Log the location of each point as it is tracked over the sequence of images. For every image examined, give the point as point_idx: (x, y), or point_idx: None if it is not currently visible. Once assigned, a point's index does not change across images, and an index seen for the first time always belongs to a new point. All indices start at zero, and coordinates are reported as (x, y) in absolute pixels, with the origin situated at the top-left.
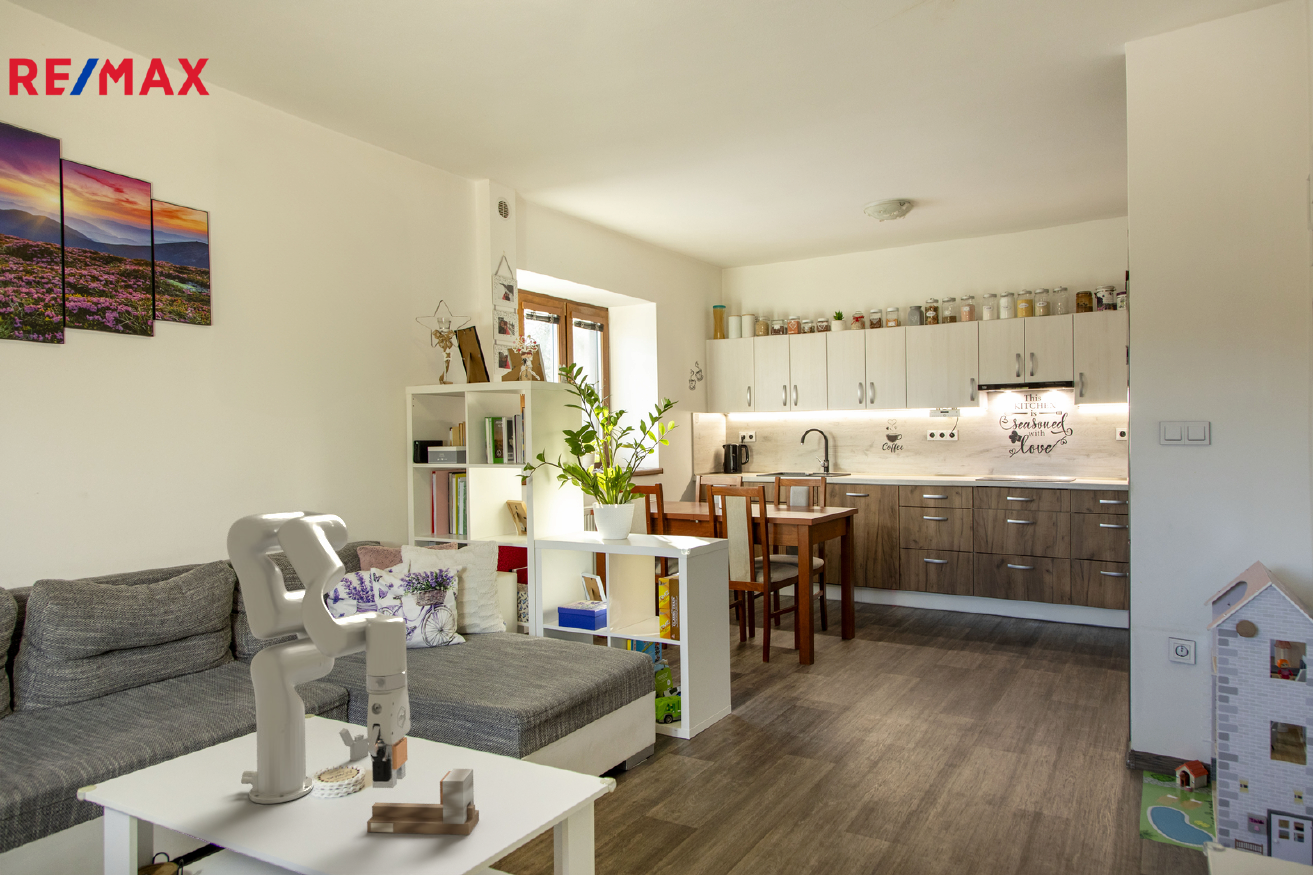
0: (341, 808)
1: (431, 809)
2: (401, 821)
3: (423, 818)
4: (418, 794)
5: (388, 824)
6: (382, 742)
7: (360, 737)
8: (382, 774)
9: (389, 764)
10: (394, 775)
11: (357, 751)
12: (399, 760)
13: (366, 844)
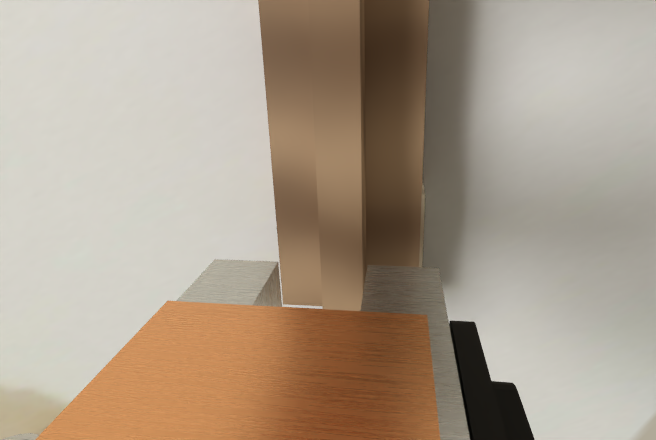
0: None
1: (360, 6)
2: (412, 159)
3: (374, 56)
4: (73, 219)
5: (423, 214)
6: None
7: None
8: (519, 405)
9: (478, 422)
10: (401, 309)
11: None
12: (350, 355)
13: (524, 251)
